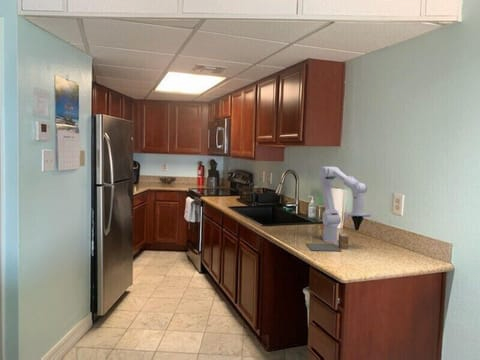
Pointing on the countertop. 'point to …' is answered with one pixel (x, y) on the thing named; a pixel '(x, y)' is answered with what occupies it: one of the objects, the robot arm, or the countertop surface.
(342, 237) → the walnut block
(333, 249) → the rubber mat
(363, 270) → the countertop surface
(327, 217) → the robot arm
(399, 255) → the countertop surface
